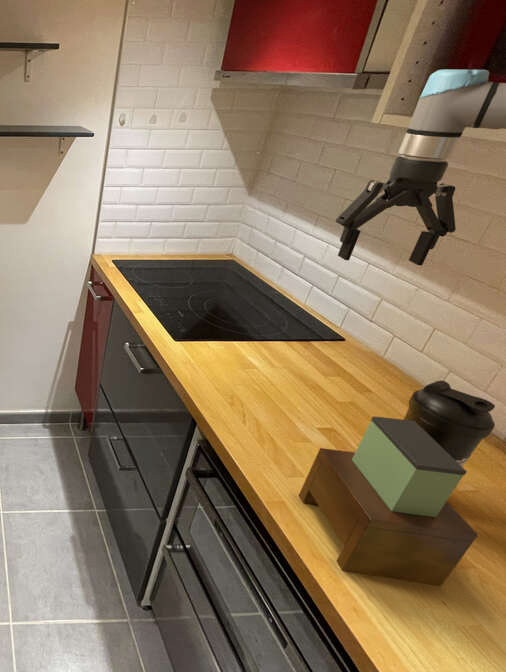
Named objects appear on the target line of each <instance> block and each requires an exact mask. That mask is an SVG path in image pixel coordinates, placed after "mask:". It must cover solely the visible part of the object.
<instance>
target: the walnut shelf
mask: <svg viewBox="0 0 506 672" xmlns="http://www.w3.org/2000/svg"><path fill="white" fill-rule="evenodd" d="M355 452H356V451H347V450H339V449H330V448H323V447H320V448H319V450H318V451H317V454H316V456H315V458H314V460H313V463H312V465H311V466H310V469H309V471H308V474H307V476H306V478H305V480H304V482H303V484H302V488H301V489H300V492H299V494H298V497H299V498H300V501H301V502H302V503H304V504H311V505H318V507H319V509H320V511H321V513H322V514H323V515H324V517H325V518H326V520H327V522H328V524H329V525H330V528H332V530H333V532H334V534H335V535H336V536H337V539H339V541H340V543H341V545H342V546H343V548H342V550H341V551H340V553H339V554H338V556H337V559H336V563H337V564H338V566H339V568H340V570H342V571H344V572H351V573H357V574H363V575H370V576H374V577H375V576H376V577H381V578H387V579H395V580H399V581H400V580H401V581H407V582H413V583H418V584H419V583H420V584H426V585H433V586H437V587H438V586H439V587H441V586H442V585H443V584H444V583H445V581H446V580H447V578H448V577H449V576H450V574H452V572H453V571H454V569H455V568H456V566H457V565H458V564H459V562H460V561H461V560H462V558H463V557H464V556H465V555H466V553H467V551H468V550H469V549H470V547H471V546H472V545H473V543H474V541H476V539H477V538H478V536H479V534H478V532H476V531H475V529H474V528H473V527H472V526H471V525H470V523H468V522H467V521H466V520H465V518H464V517H463V516H462V515H461V514H460V513H459V512H458V511H457V510H456V509H455V507H454V506H453V505H452V504H451V503H450V502H449V501H448V500H447V501H446V503H445V504H444V506H443V507H442V509H441V510H440V512H439V513H438V515H437V517H430V516H423V515H415V514H408V513H401V512H394V511H391V510H390V509H389V507H388V506H387V505H386V503H385V502H384V501H383V500H382V498H381V497H380V496H379V494H378V493H377V492H376V490H375V489H374V488H373V487H372V485H371V484H370V483H369V481H368V480H367V479H366V477H365V476H364V475H363V474H362V472H361V471H360V470H359V468H358V467H357V466H356V465H355V463H354V462H353V461H352V458H353V456H354V454H355Z"/></svg>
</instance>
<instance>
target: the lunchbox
mask: <svg viewBox="0 0 506 672" xmlns="http://www.w3.org/2000/svg"><path fill="white" fill-rule="evenodd" d="M354 452H355V454H354V456H353V458H352V461H353V462H354V463H355V465H356V466H357V467H358V468H359V470H360V471H361V472H362V474H363V475H364V476H365V477H366V479H367V480H368V481H369V483H370V484H371V485H372V487H373V488H374V489H375V490H376V492H377V493H378V494H379V496H380V497H381V498H382V500H383V501H384V502H385V503H386V505H387V506H388V507H389V509H390V510H391V511H394V512H401V513H408V514H415V515H423V516H430V517H437V515H438V513H439V512H440V510H441V509H442V507H443V506H444V504H445V503H446V501H448V500H449V498H450V497H451V496H452V494H453V493H454V491H455V489H456V488H457V487H458V485H459V483H460V481H462V479H463V477H464V476H465V475H466V474H467V470H466V469H465V468H464V466H463V467H462V466H461V465H460V464H459V463H458V462H457V461H455V460H454V459H453V458H452V457H451V456H450V455H449V454H448V453H447V452H446V451H445V450H444V449H443V448H442V447H441V446H440V445H439V444H438V443H437V442H436V441H435V440H434V439H433V438H432V437H431V436H430V435H429V434H427V433H426V432H425V431H424V430H423V429H422V428H421V427H420V426H419V425H418V424H417V423H416V422H415V421H410V420H403V419H401V418H393V417H383V416H374V415H373V416H372V417H371V418H370V422H369V424H368V426H367V428H366V430H365V432H364V434H363V435H362V438H361V440H360V442H359V443H358V446H357V448H356V450H355V451H354Z"/></svg>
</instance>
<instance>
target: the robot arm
mask: <svg viewBox="0 0 506 672" xmlns="http://www.w3.org/2000/svg"><path fill="white" fill-rule="evenodd" d="M489 76H490V72H489V70H487V69H451V68H450V69H447V68H446V69H438V70H436V71H434V72H433V73H431V74H430V75H429V77H428V79H427V81H426V84H425V86H424V88H423V90H422V92H421V94H420V96H419V98H418V101H417V103H416V105H415V106H416V107H415V108H414V111H413V114H412V116H411V119H410V122H409V125H408V127H407V130H406V132H405V135H404V137H403V140H402V142H401V145H400V147H399V149H398V152H397V153H398V154H399V155H400V156H397V157H395V159H394V161H393V163H392V166H391V169H390V171H389V178H388V179H387V181H386V182H380V181H377V180H374V179H371V180H369V181H368V183H366V186H365V188H364V190H363V191H362V192H361V193H360V194H359V195H358V196H357V197H356V198H355V199H354V200H353V201H352V202H351V204H349V205H348V206H347V208H345V209H344V211H343V212H341V213H340V215H339V216H338V217H337V218H336V219H335V222H336V223H337V224H339V225H341V226H343V230H342V233H341V236H340V238H339V240H340V241H339V242H340V243H341V246H340V249H339V251H338V253H337V256H338V257H339V258H341V259H342V260H344V261H350V260H351V256H352V254H353V251H354V249H355V246H356V244H357V241H358V240H359V236H360V234H361V229H360V230H359V228H360V227H362V226H363V225H365V224H366V223H368V222H369V221H371V220H372V219H373V218H375V217H376V216H378V215H379V214H381V213H382V212H384V211H385V210H387V209H390V208H393V207H395V206H396V207H410V208H415V209H416V211H417V212H418V214H419V216H420V218H421V220H422V222H423V224H424V226H425V228H426V230H427V231H426V230H422V231H421V232H420V234H419V236H418V238H417V241H416V243H415V245H414V247H413V249H412V252H411V254H410V256H409V258H408V261H409V262H411V263H413V264H414V265H416V266H423V265H424V263H425V260H426V259H427V256H428V254H429V252H430V250H433V249H434V248H435V247H436V245H437V243H438V240H439V238H440V237H445V236H447V234H448V233H449V234H452V233H454V232H455V231H456V219H455V209H454V208H455V207H454V201H453V197H454V194H455V191H456V186H454V185H451V184H447V183H444V182H441V183H440V184H439V185H438V182H440V181H442V179H443V177H444V175H445V173H446V171H447V168H448V167H449V163H448V161H447V160H450V159H452V158H453V156H454V154H455V151H456V149H457V147H458V145H459V142H460V140H461V138H462V136H463V133H464V131H465V129H466V128H472V129H486V128H487V129H488V130H498V129H500V128H501V129H502V128H506V82H494V81H489ZM487 129H486V130H487ZM383 192H384V193H383ZM379 194H381V195H379ZM433 195H434V197H435V198H434V199H435V206H436V208H435V209H436V213H435V210H434V208H433V203H432V201H431V199H430V197H431V196H433Z"/></svg>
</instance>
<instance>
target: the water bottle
mask: <svg viewBox="0 0 506 672" xmlns="http://www.w3.org/2000/svg"><path fill="white" fill-rule="evenodd" d="M495 407H496V405H495V404H494V403H492V402H491V401H489V400H487V399H485V398H482V397H478V396H474V395H471V394H468V393H466V392H462V391H459V390H457V389H453V388H451V385H450V384H449V383H448V382H447V381H446V380H437V381H433V382H432V383H429V384H426V385H425V386H424V387H423V388H422V389H418V390H415V391H414V392H413V393H412V395H411V396H410V399H409V400H408V409H407V411H406V413H405V415H404V417H403V419H402V420H410V421H415V422H416V423H417V424H418V425H419V426H420V427H421V428H422V429H423V430H424V431H425V432H426V433H427V434H429V435H430V436H431V437H432V438H433V439H434V440H435V441H436V442H437V443H438V444H439V445H440V446H441V447H442V448H443V449H444V450H445V451H446V452H447V453H448V454H449V455H450V456H451V457H452V458H453V459H454V460H455V461H457V462H458V463H459V464H460V465H461V466H462V467H463V468H464V466H465V464H467V462H468V461H469V459H470V457H472V454H473V453H474V451H475V450H476V449H477V448H478V446H479V444H480V443H481V442H482V440H483V439H486V438H487V437H489V436H490V435H491V433H492V432H493V430H494V428H495V426H496V424H495V421H494V419H493V415H492V414H491V413H490V412H491V411H493V410H494V409H495Z"/></svg>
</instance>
